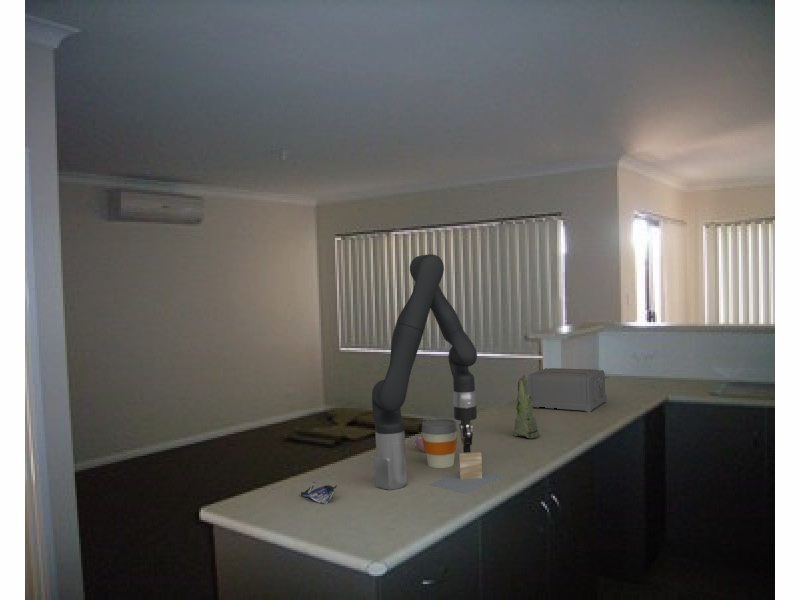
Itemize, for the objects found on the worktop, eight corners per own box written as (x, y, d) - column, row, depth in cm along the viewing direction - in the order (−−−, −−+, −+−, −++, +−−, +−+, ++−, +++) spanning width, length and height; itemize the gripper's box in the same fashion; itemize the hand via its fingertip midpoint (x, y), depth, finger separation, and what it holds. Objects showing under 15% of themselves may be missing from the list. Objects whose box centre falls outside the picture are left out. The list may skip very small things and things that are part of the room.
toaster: (598, 413, 287) (596, 377, 287) (527, 408, 307) (526, 374, 307) (614, 402, 313) (613, 369, 313) (548, 398, 332) (546, 367, 332)
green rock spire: (523, 441, 240) (520, 378, 240) (506, 435, 251) (503, 375, 251) (545, 437, 245) (543, 375, 244) (528, 431, 255) (525, 372, 255)
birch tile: (482, 478, 193) (481, 453, 193) (460, 479, 193) (459, 454, 193) (481, 476, 195) (480, 451, 195) (459, 477, 195) (458, 452, 195)
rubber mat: (467, 495, 179) (467, 493, 179) (428, 485, 189) (428, 484, 189) (504, 478, 194) (504, 476, 194) (466, 470, 204) (466, 469, 204)
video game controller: (433, 450, 238) (426, 433, 240) (441, 446, 236) (434, 429, 238) (418, 456, 231) (411, 438, 233) (426, 452, 228) (419, 434, 230)
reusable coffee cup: (417, 469, 208) (416, 425, 208) (429, 459, 220) (427, 418, 219) (452, 471, 203) (451, 427, 203) (463, 461, 215) (461, 419, 215)
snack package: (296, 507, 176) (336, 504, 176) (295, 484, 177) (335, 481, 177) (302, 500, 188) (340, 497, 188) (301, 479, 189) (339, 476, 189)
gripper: (451, 401, 207) (453, 451, 207) (456, 408, 194) (458, 462, 194) (472, 400, 208) (474, 450, 208) (479, 407, 194) (481, 461, 194)
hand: (467, 456), depth 201 cm, fingers closed
